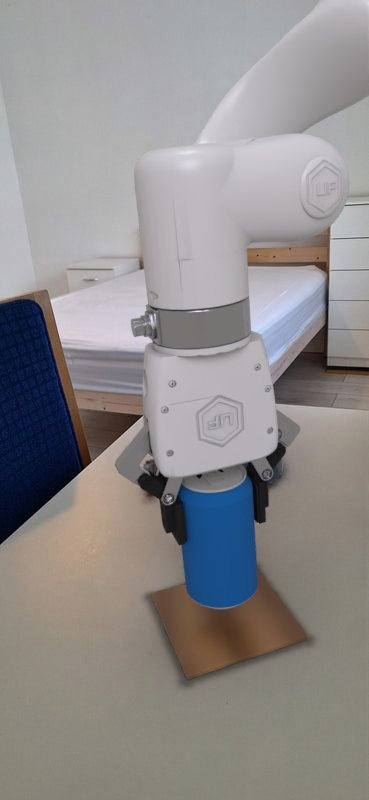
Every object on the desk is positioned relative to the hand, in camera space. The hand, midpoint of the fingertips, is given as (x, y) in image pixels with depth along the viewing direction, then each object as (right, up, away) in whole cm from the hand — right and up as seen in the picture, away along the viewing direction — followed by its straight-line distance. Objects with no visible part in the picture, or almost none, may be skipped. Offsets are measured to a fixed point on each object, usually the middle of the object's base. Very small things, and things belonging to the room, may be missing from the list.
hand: (216, 524), depth 51 cm
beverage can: (+1, -7, +3) cm, 7 cm away
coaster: (+1, -9, +4) cm, 10 cm away
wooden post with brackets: (-7, -1, +28) cm, 29 cm away
